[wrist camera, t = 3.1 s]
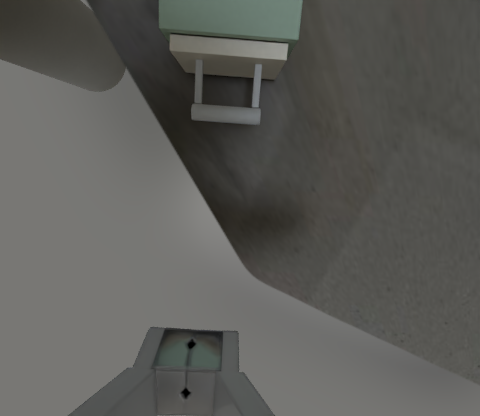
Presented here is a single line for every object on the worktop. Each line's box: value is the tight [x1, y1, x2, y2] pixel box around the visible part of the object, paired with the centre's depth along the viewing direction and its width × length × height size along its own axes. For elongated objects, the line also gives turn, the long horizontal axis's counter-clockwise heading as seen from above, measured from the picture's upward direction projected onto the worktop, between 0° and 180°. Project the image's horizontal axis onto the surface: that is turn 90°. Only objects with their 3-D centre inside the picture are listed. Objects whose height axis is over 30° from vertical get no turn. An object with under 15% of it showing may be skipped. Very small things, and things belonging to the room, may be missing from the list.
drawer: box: [170, 34, 288, 125], centre depth 23 cm, size 16×9×7 cm, turn 176°
